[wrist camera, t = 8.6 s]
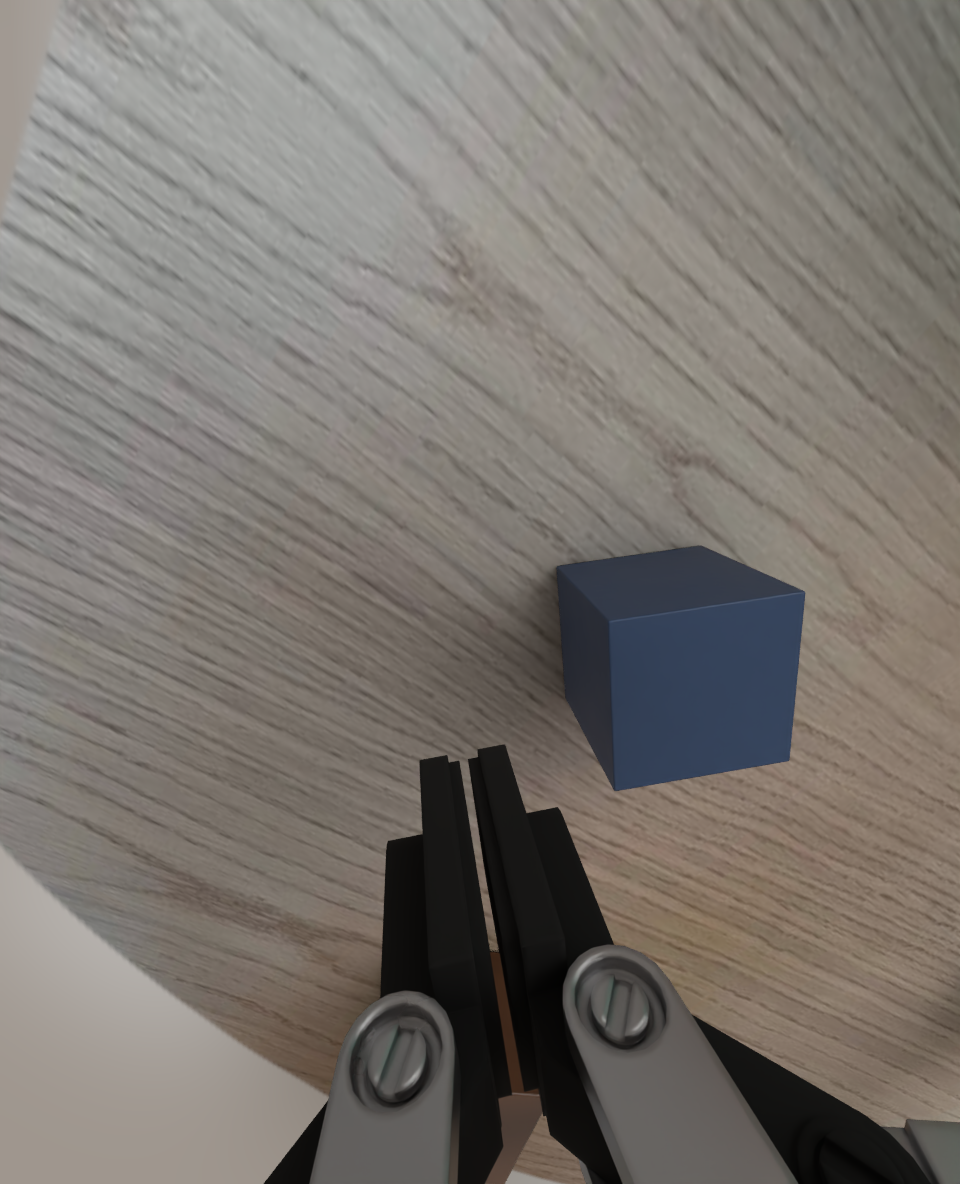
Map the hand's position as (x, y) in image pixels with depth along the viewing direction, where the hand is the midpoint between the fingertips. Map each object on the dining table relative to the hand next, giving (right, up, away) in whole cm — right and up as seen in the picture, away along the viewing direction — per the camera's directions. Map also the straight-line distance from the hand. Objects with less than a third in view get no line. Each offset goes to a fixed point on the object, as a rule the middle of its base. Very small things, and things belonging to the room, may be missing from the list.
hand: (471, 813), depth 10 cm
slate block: (+5, +3, +8) cm, 10 cm away
